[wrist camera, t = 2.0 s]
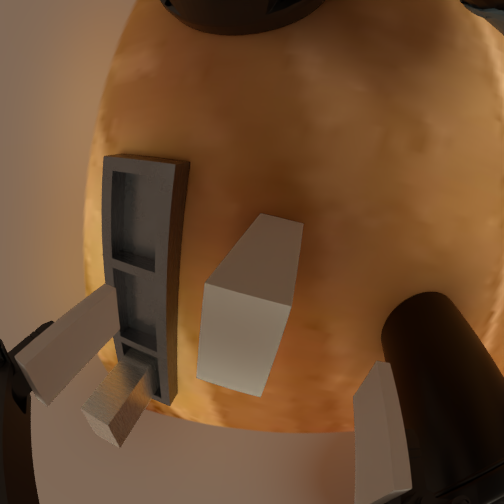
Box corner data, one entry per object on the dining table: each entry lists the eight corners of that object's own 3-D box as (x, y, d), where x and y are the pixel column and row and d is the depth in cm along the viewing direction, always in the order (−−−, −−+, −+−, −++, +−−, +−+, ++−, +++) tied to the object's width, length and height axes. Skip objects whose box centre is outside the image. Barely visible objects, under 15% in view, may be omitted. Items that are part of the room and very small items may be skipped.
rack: (119, 153, 22) (6, 175, 11) (190, 162, 21) (74, 186, 10) (130, 372, 34) (86, 432, 23) (177, 393, 33) (138, 462, 22)
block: (260, 213, 22) (204, 282, 11) (303, 223, 21) (291, 306, 10) (247, 278, 24) (196, 377, 13) (286, 288, 23) (260, 397, 13)
